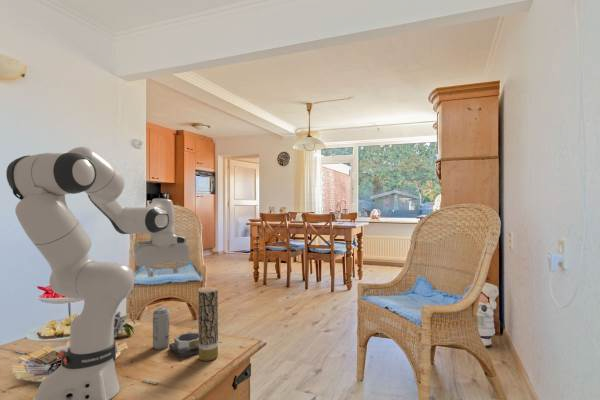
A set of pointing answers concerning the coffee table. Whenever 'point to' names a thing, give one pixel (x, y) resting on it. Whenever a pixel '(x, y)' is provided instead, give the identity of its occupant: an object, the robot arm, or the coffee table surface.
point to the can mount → (185, 345)
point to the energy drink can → (161, 328)
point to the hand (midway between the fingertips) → (163, 274)
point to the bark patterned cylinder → (208, 323)
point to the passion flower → (122, 325)
